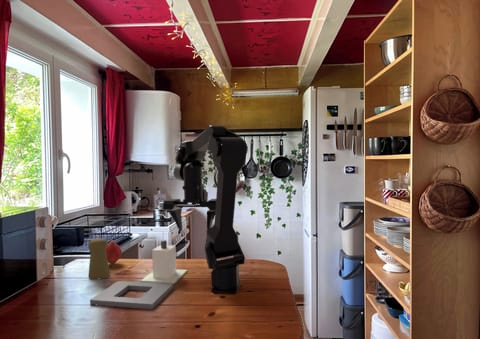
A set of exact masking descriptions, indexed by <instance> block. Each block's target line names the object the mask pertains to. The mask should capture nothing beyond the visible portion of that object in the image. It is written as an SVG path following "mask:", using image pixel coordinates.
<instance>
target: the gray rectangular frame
mask: <svg viewBox="0 0 480 339" xmlns="http://www.w3.org/2000/svg"><path fill="white" fill-rule="evenodd" d="M173 289H174V284H168V283H150V282H141V281H128V280H118V281H116V282H115V283H113V284H112V285H110V286H108V287H107V288H105V289H104V290H102V291H101V292H100V293H98V294H96V295H94V297H92V298H91V299H89V305H90V304H97V305H96V306H101V305H105V306H104V307H114V306H117V308H129V309H130V308H131V309H143V310H145V309H146V310H153V309H155V307H156V306H157V305H158V304H159V303H160V302H161V301H163V299H164V298H165V297H166V296H168V294H170V292H171V291H173ZM127 290H128V291H143V292H144V291H145V293H143V295H142V296H140V297H124V296H122V295H124V294H125V293H126V292H128V291H127ZM123 293H124V294H123ZM120 295H121V296H120ZM119 296H120V297H119Z"/></svg>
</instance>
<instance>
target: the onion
mask: <svg viewBox="0 0 480 339" xmlns="http://www.w3.org/2000/svg"><path fill="white" fill-rule="evenodd" d="M122 253H123V252H122V249H121V247H120V246H119V244H117V243H116V242H114V240H113V239H112V240H110V242H109V243H107V248H106V255H107V260H108V264H111V265H115V264H116V263H117V262H118V261H119V260H120V259H121V257H122V255H123V254H122Z"/></svg>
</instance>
